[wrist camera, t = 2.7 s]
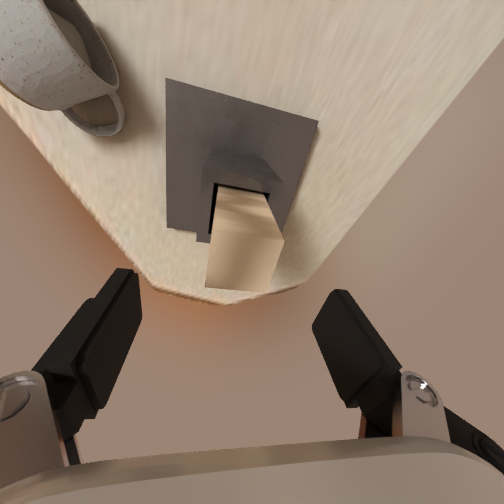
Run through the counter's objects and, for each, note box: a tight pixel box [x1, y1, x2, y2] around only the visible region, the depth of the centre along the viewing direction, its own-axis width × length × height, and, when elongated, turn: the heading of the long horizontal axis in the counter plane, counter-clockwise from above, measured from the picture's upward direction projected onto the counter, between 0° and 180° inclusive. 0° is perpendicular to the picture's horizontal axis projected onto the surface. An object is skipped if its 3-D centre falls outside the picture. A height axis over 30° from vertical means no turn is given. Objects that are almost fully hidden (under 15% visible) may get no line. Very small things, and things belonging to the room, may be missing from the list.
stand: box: [166, 78, 319, 243], centre depth 24 cm, size 18×18×14 cm
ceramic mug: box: [0, 0, 125, 137], centre depth 19 cm, size 11×8×8 cm
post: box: [205, 183, 285, 293], centre depth 20 cm, size 4×4×19 cm
